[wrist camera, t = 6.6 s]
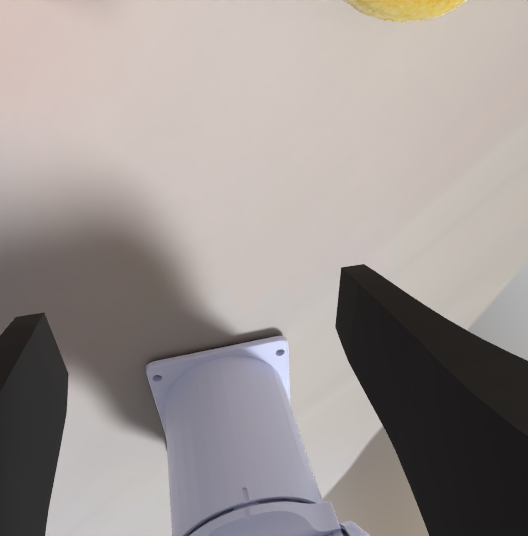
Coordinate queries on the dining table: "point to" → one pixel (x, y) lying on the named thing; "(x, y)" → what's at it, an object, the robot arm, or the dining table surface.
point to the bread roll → (405, 9)
